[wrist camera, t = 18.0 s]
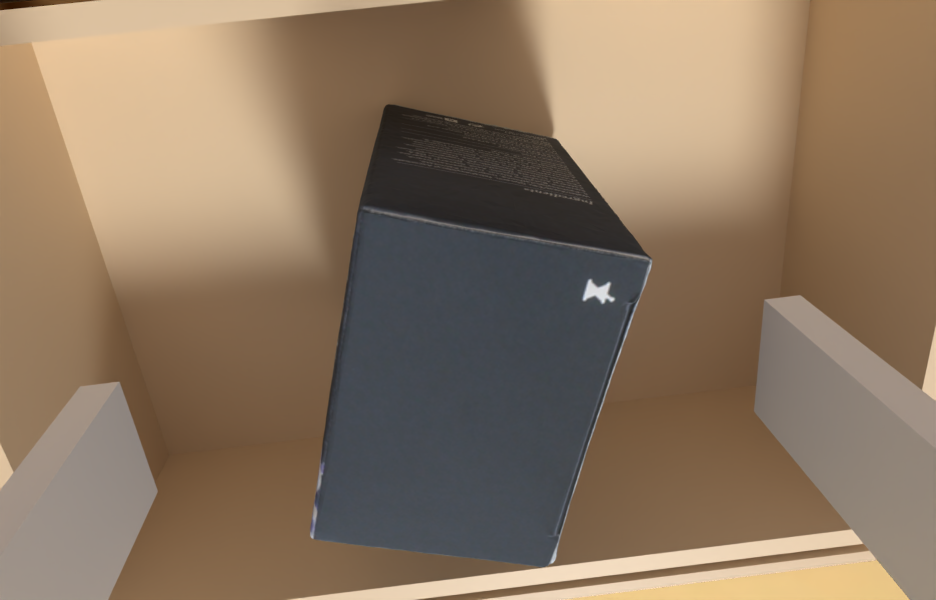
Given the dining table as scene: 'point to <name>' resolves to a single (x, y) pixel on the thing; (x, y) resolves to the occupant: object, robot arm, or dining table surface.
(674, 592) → the dining table surface
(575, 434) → the box
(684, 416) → the carton
